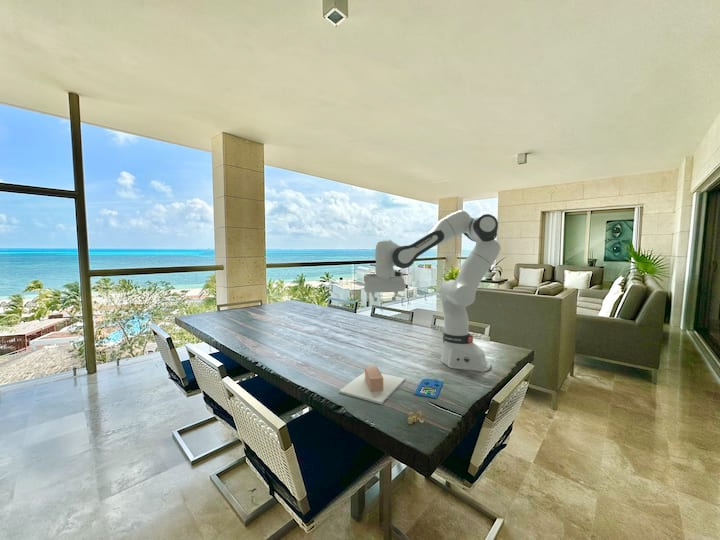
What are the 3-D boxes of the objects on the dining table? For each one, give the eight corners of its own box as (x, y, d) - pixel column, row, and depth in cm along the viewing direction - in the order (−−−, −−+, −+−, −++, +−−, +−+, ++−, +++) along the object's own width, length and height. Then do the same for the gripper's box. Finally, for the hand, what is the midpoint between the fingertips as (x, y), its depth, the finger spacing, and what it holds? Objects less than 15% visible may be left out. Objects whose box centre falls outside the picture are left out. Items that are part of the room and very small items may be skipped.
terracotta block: (376, 365, 123) (383, 377, 111) (376, 377, 123) (383, 390, 112) (364, 366, 122) (370, 378, 111) (364, 378, 123) (370, 391, 111)
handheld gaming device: (443, 380, 120) (436, 397, 106) (443, 383, 120) (436, 400, 106) (423, 377, 123) (413, 392, 110) (423, 379, 124) (413, 395, 110)
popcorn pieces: (408, 426, 91) (408, 420, 91) (406, 417, 96) (406, 411, 96) (424, 426, 91) (424, 420, 91) (421, 417, 96) (421, 411, 96)
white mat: (404, 380, 122) (404, 378, 122) (381, 404, 103) (381, 402, 103) (366, 371, 131) (366, 370, 131) (339, 392, 112) (339, 390, 112)
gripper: (364, 274, 140) (365, 302, 141) (406, 273, 143) (406, 301, 144) (362, 273, 146) (362, 300, 147) (402, 272, 150) (402, 299, 150)
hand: (384, 300), depth 146 cm, fingers open, 8 cm apart
